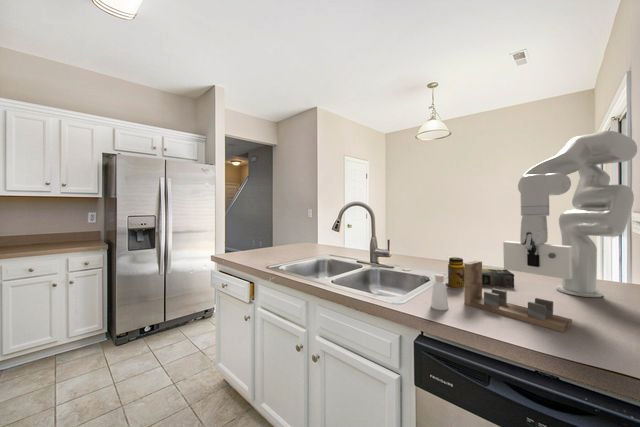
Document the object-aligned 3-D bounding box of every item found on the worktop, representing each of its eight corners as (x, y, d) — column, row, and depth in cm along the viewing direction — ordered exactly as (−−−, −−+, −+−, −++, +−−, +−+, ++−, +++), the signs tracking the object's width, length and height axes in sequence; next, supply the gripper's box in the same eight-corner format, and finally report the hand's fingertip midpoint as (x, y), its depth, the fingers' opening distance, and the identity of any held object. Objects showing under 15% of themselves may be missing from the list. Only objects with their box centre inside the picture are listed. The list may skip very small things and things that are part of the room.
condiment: (466, 290, 108) (466, 260, 107) (443, 288, 110) (443, 259, 110) (463, 284, 115) (463, 256, 114) (441, 283, 117) (441, 256, 117)
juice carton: (459, 284, 116) (459, 270, 116) (456, 278, 125) (456, 265, 125) (514, 289, 109) (514, 274, 109) (506, 282, 118) (506, 268, 118)
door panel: (507, 267, 99) (507, 240, 99) (572, 277, 84) (572, 246, 84) (502, 269, 97) (502, 242, 97) (568, 280, 82) (568, 247, 82)
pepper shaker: (427, 305, 92) (427, 273, 91) (441, 303, 93) (441, 272, 93) (437, 311, 86) (437, 277, 86) (452, 309, 88) (452, 276, 87)
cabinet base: (476, 298, 97) (476, 260, 97) (572, 324, 76) (572, 275, 75) (464, 303, 93) (464, 263, 92) (562, 332, 71) (563, 279, 71)
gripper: (530, 210, 98) (531, 259, 99) (511, 212, 89) (512, 267, 90) (557, 209, 92) (558, 263, 92) (539, 212, 83) (540, 271, 83)
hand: (535, 264), depth 91 cm, fingers closed on door panel, 3 cm apart
